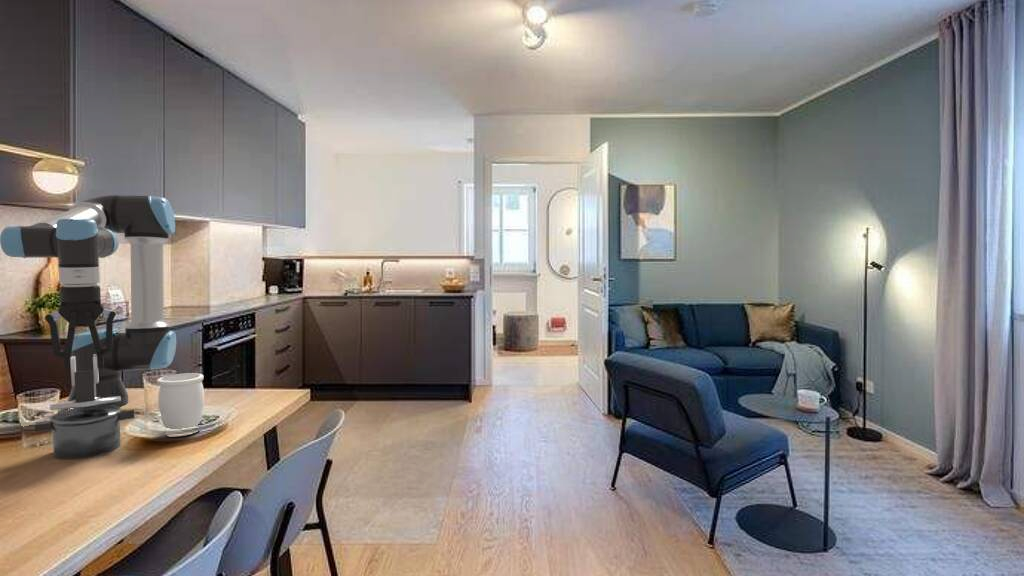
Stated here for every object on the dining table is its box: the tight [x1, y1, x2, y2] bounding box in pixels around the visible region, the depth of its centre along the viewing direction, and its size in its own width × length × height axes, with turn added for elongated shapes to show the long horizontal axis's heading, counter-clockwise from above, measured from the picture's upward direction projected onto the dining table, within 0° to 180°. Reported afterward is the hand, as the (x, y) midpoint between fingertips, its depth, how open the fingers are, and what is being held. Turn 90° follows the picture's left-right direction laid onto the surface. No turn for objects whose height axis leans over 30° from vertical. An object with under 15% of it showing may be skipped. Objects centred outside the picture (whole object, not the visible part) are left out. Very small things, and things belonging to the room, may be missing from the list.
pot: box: [34, 405, 135, 460], centre depth 136 cm, size 14×19×9 cm
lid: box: [49, 370, 121, 411], centre depth 134 cm, size 13×13×8 cm
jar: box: [157, 372, 205, 429], centre depth 148 cm, size 11×10×15 cm
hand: (85, 383), depth 133 cm, fingers closed on lid, 3 cm apart
